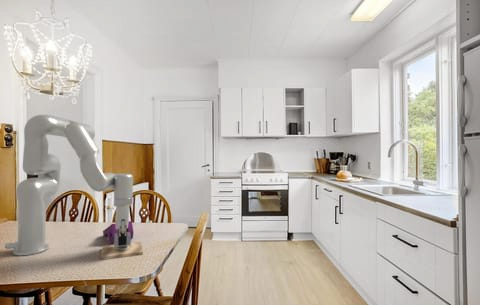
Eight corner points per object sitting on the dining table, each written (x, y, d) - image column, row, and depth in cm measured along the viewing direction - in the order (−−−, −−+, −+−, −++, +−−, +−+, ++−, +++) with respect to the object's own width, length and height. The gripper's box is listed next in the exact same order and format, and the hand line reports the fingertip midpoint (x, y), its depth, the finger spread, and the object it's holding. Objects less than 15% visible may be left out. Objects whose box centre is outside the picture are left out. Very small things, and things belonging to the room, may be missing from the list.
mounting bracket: (102, 249, 136) (114, 241, 125) (100, 233, 139) (112, 223, 127) (121, 245, 143) (134, 237, 131) (119, 229, 145) (131, 220, 134)
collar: (114, 246, 113) (114, 237, 113) (114, 242, 119) (114, 233, 119) (130, 245, 116) (130, 235, 116) (129, 240, 121) (130, 232, 122)
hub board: (100, 259, 107) (101, 244, 108) (102, 248, 120) (102, 235, 120) (142, 254, 114) (143, 240, 114) (140, 244, 127) (140, 231, 127)
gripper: (114, 199, 124) (112, 238, 123) (113, 205, 108) (112, 250, 108) (131, 198, 127) (130, 236, 127) (133, 204, 111) (132, 247, 111)
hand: (122, 242), depth 117 cm, fingers closed on collar, 6 cm apart
